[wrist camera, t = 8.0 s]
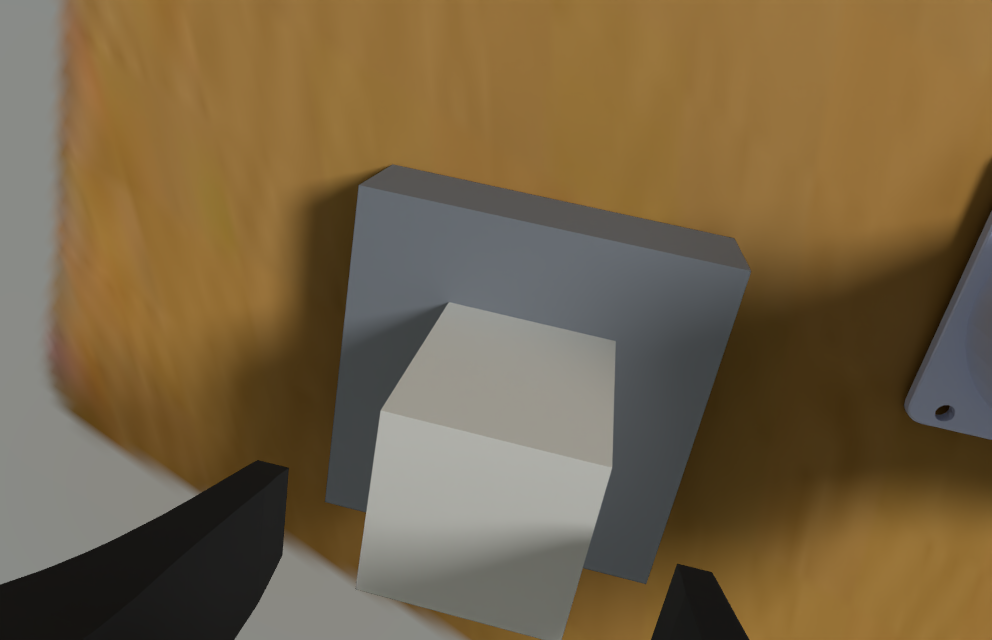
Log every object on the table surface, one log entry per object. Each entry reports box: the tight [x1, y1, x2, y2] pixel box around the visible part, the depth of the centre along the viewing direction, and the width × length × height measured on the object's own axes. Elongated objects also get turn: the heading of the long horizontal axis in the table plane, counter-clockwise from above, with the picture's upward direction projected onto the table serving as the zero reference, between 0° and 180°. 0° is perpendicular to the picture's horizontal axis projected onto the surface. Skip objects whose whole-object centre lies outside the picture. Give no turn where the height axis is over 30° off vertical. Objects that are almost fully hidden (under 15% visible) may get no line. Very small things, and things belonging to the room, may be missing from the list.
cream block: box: [356, 302, 616, 640], centre depth 18 cm, size 4×4×6 cm
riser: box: [325, 165, 751, 584], centre depth 22 cm, size 10×10×3 cm
